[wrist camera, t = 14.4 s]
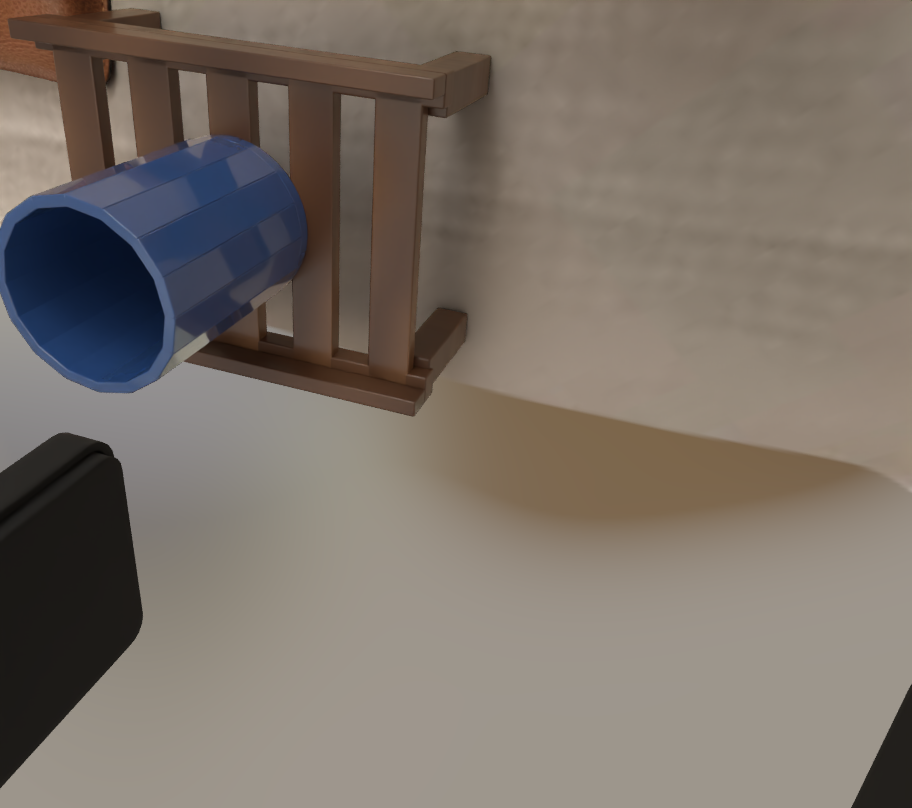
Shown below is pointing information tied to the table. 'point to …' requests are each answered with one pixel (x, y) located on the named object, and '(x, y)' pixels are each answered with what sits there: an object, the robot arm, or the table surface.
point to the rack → (311, 170)
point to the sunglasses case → (22, 55)
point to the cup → (149, 259)
